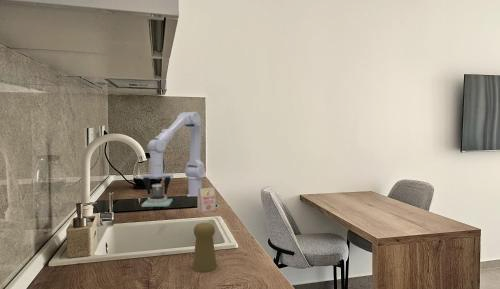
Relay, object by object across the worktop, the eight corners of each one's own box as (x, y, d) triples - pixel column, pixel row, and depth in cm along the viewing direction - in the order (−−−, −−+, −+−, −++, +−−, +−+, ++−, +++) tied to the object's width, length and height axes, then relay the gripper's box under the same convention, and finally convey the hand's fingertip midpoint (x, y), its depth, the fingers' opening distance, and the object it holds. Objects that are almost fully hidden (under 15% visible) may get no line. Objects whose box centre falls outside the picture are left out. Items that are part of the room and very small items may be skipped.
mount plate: (147, 201, 168) (147, 199, 168) (172, 200, 169) (172, 198, 168) (141, 206, 156) (141, 204, 156) (168, 206, 157) (168, 203, 157)
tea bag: (197, 211, 146) (197, 188, 145) (212, 209, 149) (212, 186, 149) (200, 213, 143) (200, 189, 142) (215, 211, 146) (215, 188, 145)
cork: (190, 264, 88) (189, 222, 87) (212, 261, 90) (212, 219, 90) (196, 273, 82) (195, 228, 82) (220, 269, 85) (219, 225, 84)
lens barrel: (153, 200, 164) (152, 183, 164) (163, 200, 165) (163, 183, 165) (151, 202, 160) (150, 185, 159) (162, 202, 160) (161, 185, 160)
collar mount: (150, 199, 166) (150, 195, 166) (168, 199, 167) (168, 195, 167) (146, 203, 158) (146, 199, 157) (165, 203, 158) (165, 198, 158)
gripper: (138, 166, 157) (139, 195, 157) (171, 165, 158) (171, 195, 158) (142, 164, 164) (143, 193, 164) (173, 164, 165) (174, 192, 165)
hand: (157, 193), depth 162 cm, fingers open, 7 cm apart
